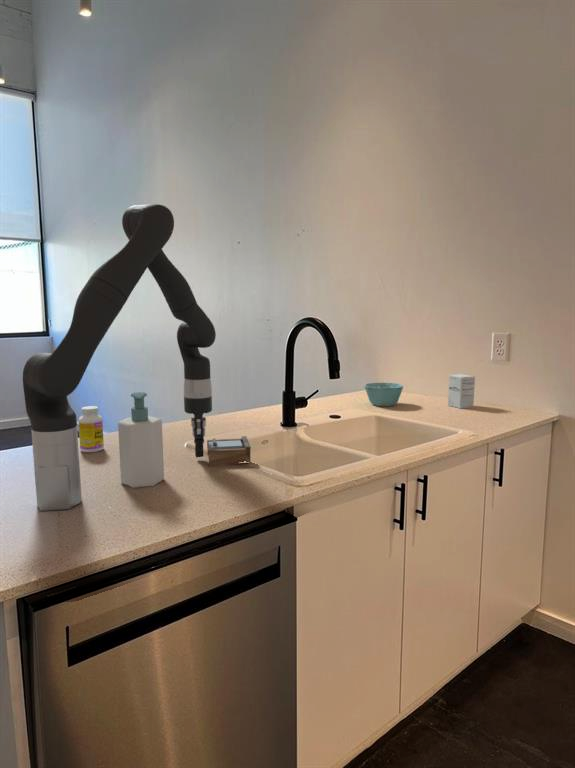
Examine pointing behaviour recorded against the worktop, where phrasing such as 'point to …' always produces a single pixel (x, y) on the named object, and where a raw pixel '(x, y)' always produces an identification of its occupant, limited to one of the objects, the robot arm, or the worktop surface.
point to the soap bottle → (141, 446)
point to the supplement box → (461, 391)
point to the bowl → (383, 393)
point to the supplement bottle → (91, 430)
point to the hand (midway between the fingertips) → (199, 456)
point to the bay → (229, 453)
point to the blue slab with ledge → (224, 444)
